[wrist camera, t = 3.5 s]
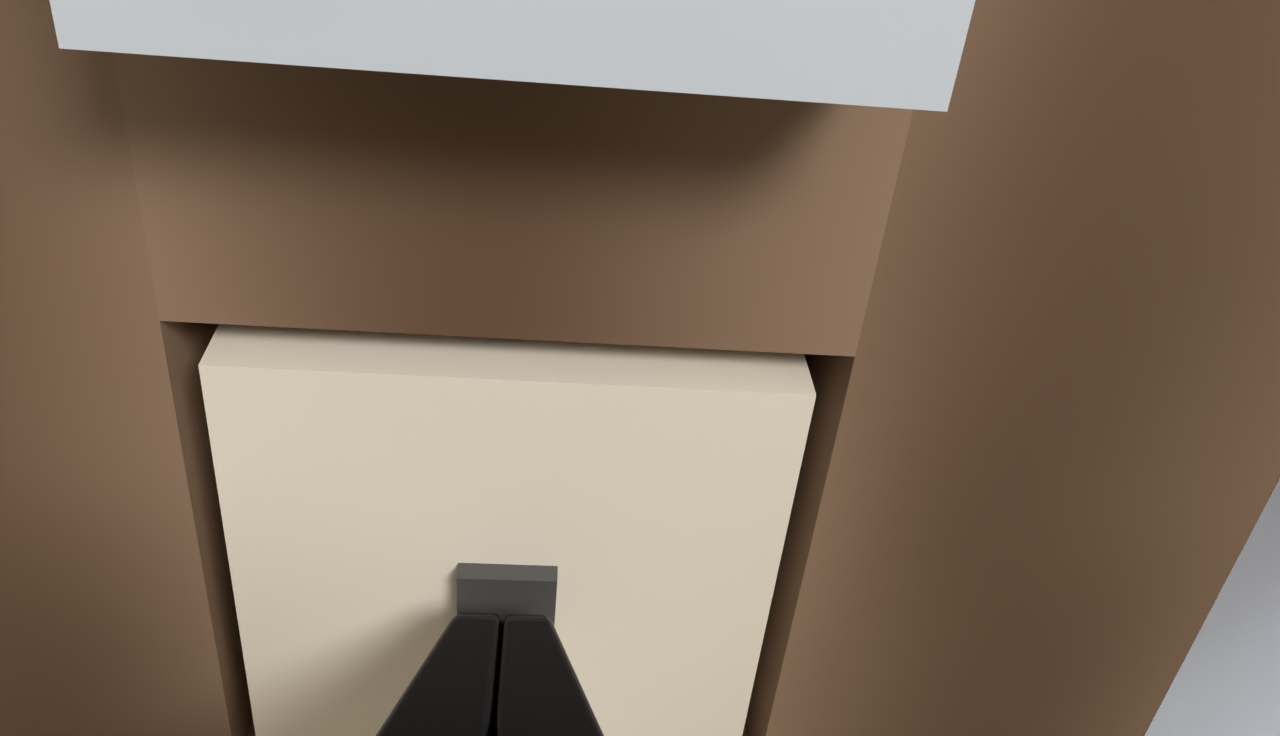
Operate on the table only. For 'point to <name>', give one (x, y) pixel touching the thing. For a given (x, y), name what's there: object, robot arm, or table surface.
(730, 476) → the one pip button
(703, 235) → the board
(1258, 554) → the table surface
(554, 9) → the three pip button
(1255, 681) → the table surface
